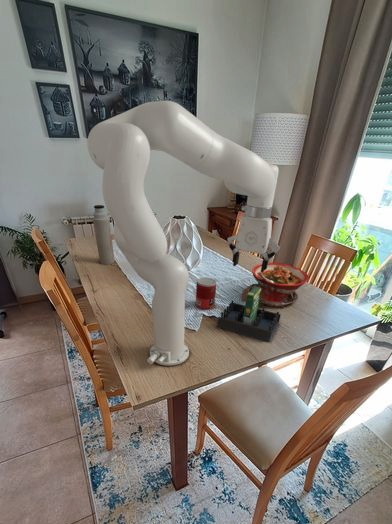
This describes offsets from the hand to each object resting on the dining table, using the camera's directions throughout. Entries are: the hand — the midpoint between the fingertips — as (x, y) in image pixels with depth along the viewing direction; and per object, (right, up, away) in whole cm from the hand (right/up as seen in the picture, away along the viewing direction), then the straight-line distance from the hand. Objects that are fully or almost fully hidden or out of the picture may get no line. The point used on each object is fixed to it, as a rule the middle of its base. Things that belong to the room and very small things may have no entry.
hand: (248, 267), depth 97 cm
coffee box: (+2, -17, +12) cm, 21 cm away
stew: (+16, -5, +32) cm, 36 cm away
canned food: (-14, -9, +25) cm, 30 cm away
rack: (+2, -18, +13) cm, 22 cm away
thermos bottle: (-67, +21, +61) cm, 93 cm away
